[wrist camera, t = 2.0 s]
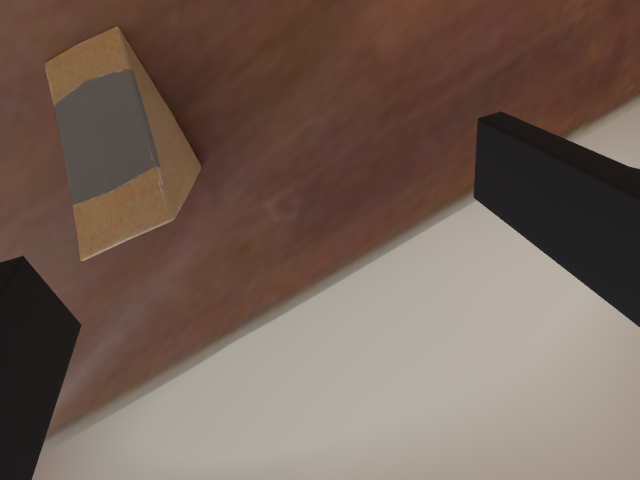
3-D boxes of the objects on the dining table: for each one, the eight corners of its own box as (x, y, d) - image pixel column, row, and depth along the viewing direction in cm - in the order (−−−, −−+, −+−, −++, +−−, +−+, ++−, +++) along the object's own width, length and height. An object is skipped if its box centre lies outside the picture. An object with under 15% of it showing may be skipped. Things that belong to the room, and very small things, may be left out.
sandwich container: (119, 22, 36) (32, 7, 23) (205, 167, 43) (176, 220, 30) (41, 62, 37) (-88, 70, 24) (137, 199, 44) (80, 264, 31)
